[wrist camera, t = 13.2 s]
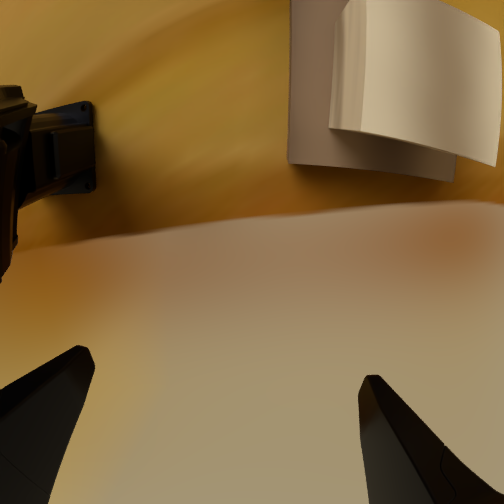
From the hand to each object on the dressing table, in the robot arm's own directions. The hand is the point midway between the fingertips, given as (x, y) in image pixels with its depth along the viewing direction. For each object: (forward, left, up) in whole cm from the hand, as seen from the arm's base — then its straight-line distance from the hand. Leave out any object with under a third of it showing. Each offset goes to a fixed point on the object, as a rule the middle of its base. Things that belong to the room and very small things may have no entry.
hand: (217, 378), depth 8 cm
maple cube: (+7, +10, -10) cm, 16 cm away
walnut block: (+7, +10, -13) cm, 18 cm away
